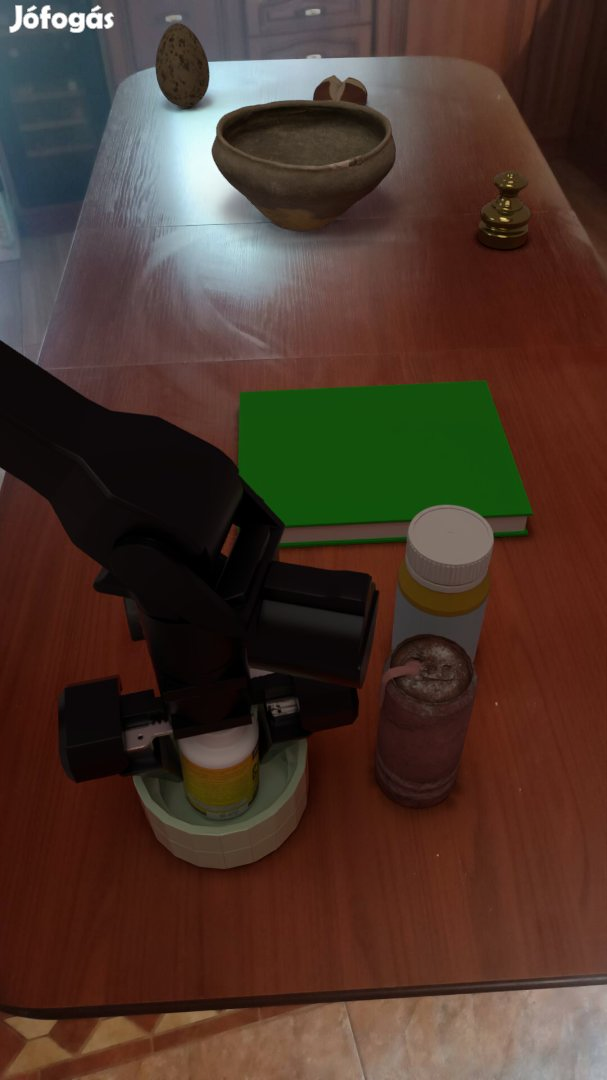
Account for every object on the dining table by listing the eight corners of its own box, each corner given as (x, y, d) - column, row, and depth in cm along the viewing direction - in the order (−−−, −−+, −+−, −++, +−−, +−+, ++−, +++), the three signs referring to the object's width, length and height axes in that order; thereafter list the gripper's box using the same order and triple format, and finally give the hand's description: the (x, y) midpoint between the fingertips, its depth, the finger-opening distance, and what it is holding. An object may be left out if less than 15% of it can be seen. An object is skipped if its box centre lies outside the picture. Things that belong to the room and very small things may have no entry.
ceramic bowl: (154, 890, 55) (139, 854, 51) (139, 737, 64) (125, 695, 59) (325, 849, 57) (325, 811, 53) (289, 706, 65) (286, 663, 61)
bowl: (184, 215, 130) (172, 123, 120) (310, 168, 143) (309, 81, 133) (298, 276, 115) (295, 176, 105) (428, 217, 128) (436, 123, 118)
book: (527, 535, 78) (533, 513, 76) (239, 549, 78) (237, 527, 76) (481, 399, 94) (485, 377, 92) (241, 410, 93) (239, 389, 91)
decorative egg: (184, 119, 162) (173, 34, 151) (150, 108, 167) (137, 24, 156) (223, 105, 167) (215, 22, 156) (189, 94, 172) (179, 13, 161)
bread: (307, 112, 163) (306, 85, 159) (324, 94, 170) (323, 68, 167) (360, 117, 160) (360, 90, 156) (374, 99, 168) (375, 72, 164)
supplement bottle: (266, 815, 58) (266, 738, 51) (189, 830, 57) (179, 754, 50) (252, 749, 62) (250, 669, 55) (180, 762, 61) (169, 682, 54)
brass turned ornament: (502, 255, 118) (513, 187, 111) (466, 237, 123) (475, 170, 115) (536, 241, 121) (549, 173, 114) (500, 224, 125) (511, 158, 118)
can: (358, 754, 62) (364, 645, 52) (432, 727, 64) (451, 617, 54) (392, 824, 58) (404, 721, 48) (469, 794, 60) (497, 689, 50)
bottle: (483, 639, 70) (511, 516, 59) (459, 702, 65) (484, 581, 54) (407, 614, 72) (420, 490, 61) (378, 673, 67) (388, 552, 57)
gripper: (319, 514, 53) (320, 653, 65) (33, 564, 51) (86, 700, 62) (365, 646, 46) (357, 777, 57) (31, 712, 43) (92, 836, 54)
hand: (221, 766), depth 58 cm, fingers closed on supplement bottle, 6 cm apart
